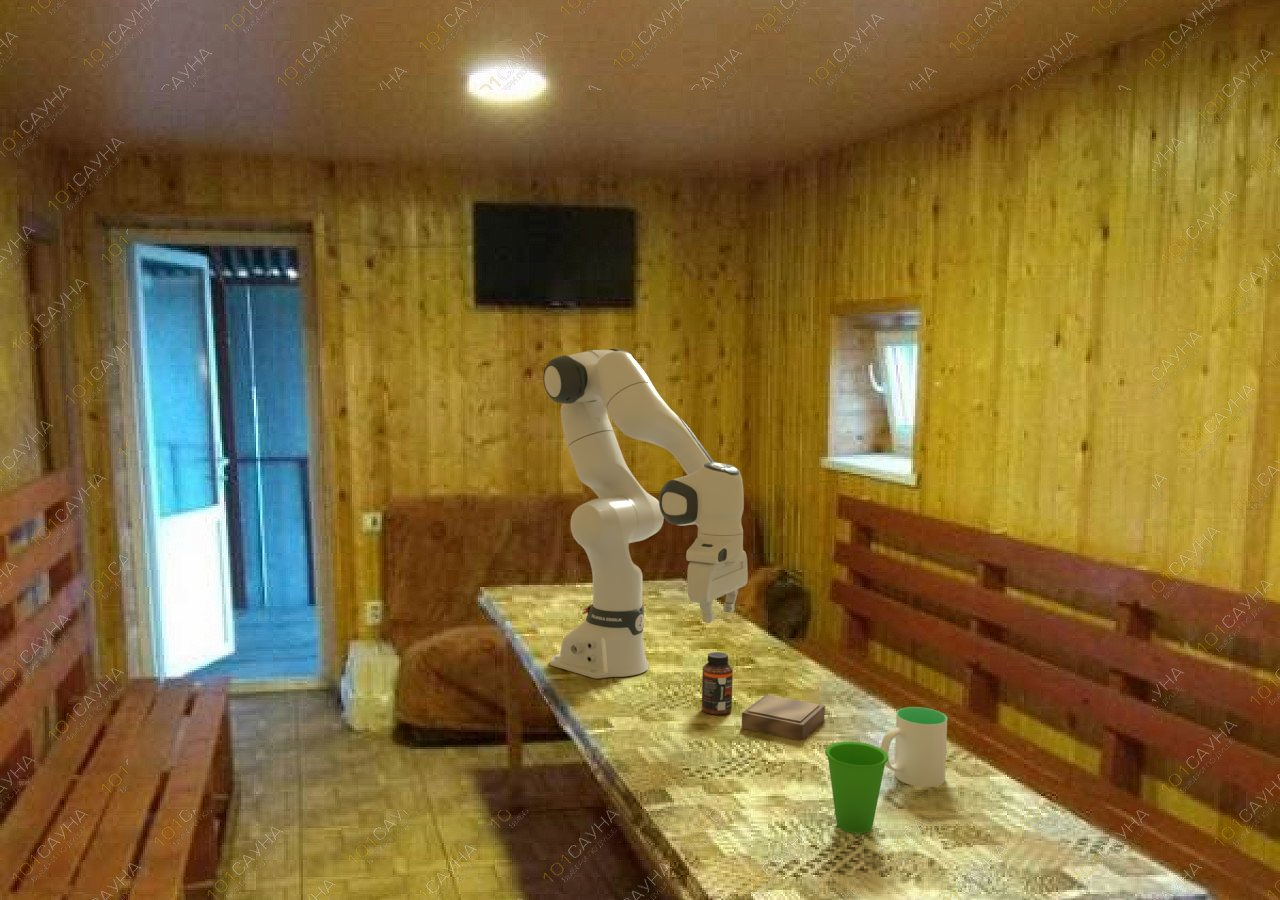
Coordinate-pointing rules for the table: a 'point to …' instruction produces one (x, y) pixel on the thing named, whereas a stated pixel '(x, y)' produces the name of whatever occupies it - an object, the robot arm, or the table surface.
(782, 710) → the brown box
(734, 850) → the table surface
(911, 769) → the mug
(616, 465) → the robot arm
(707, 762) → the table surface
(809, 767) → the table surface
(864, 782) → the cup
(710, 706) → the supplement bottle
